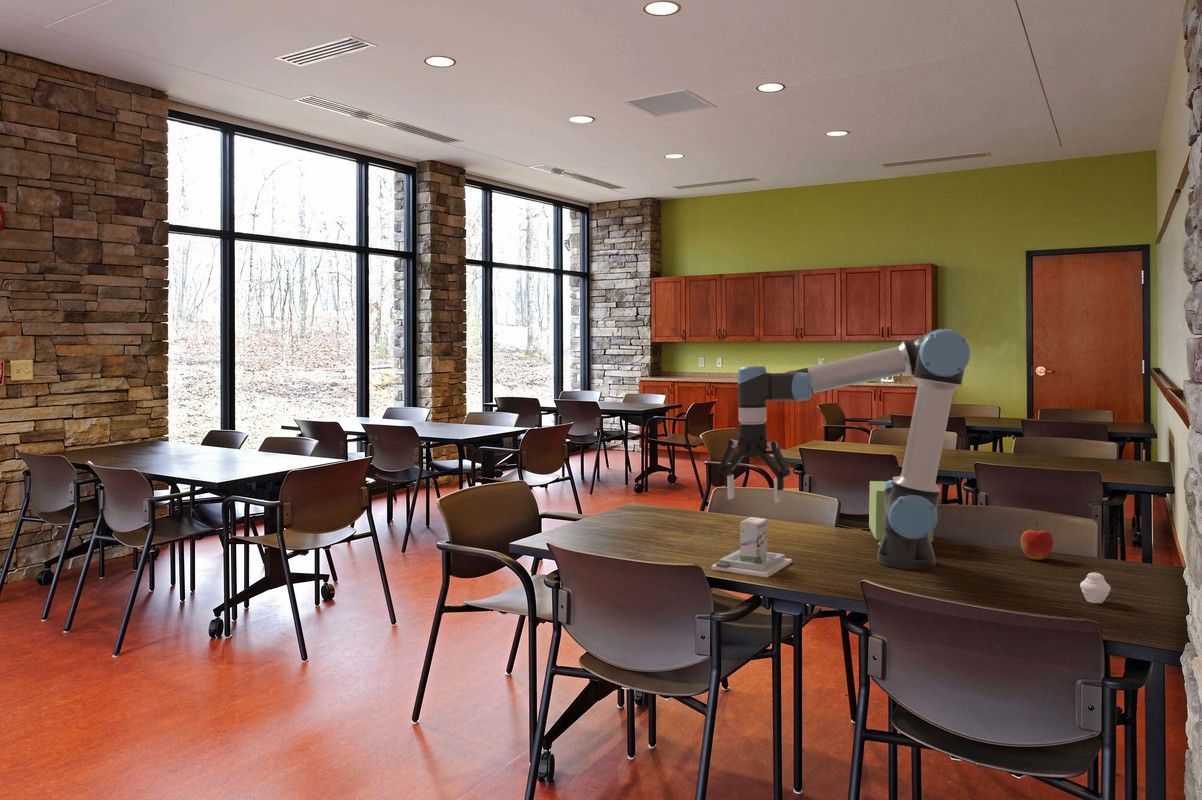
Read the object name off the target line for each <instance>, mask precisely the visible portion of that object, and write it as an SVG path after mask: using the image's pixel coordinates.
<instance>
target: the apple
mask: <svg viewBox="0 0 1202 800" xmlns="http://www.w3.org/2000/svg"><path fill="white" fill-rule="evenodd" d="M1035 525H1036V526H1038V523H1035ZM1053 539H1054V538H1053V536H1052V534H1051V532H1050V531H1049V530H1045V529H1044V530H1041V531H1040V530H1039V531H1038V530H1035V529H1027V530H1026V531H1024V532H1023V533H1022V534H1021V537H1020V545H1021V546H1020V547H1021V549H1022V552H1023V553H1024V555H1025V556H1026V557H1027V558H1028V559H1030V560H1033V559H1034V561H1041V560H1044V559H1046V558H1047V557H1048V556H1049V555H1050V553H1051V552H1052V549H1053V546H1054V540H1053Z"/></svg>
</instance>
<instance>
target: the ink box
mask: <svg viewBox="0 0 1202 800" xmlns="http://www.w3.org/2000/svg"><path fill="white" fill-rule="evenodd" d="M739 536H740V538H739V540H740V541H739V544H740V545H739V546H740V547H739V548H740V549H739V550H740V561H742V562H749V563H757V564H761V563H763V562H765V561H766V560H767V552H768V519H767V518H760V517H754V516H751V517H748V518H746V519H743V520H741V522H740V523H739Z"/></svg>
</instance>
